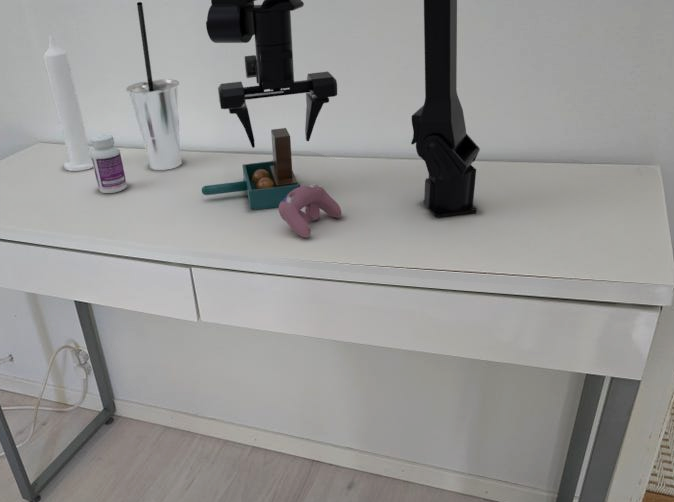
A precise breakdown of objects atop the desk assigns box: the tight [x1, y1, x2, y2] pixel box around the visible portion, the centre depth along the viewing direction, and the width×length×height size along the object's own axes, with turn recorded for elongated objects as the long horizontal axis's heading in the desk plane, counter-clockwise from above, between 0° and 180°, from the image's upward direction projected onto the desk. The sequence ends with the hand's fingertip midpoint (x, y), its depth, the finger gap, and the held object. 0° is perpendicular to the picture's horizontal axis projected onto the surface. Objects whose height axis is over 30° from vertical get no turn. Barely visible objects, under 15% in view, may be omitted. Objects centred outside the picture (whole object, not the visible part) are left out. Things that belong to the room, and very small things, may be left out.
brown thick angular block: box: [270, 127, 299, 187], centre depth 114 cm, size 4×10×10 cm, turn 5°
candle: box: [42, 34, 94, 172], centre depth 132 cm, size 7×7×25 cm
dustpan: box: [201, 160, 301, 211], centre depth 115 cm, size 16×14×3 cm
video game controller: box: [278, 183, 342, 239], centre depth 102 cm, size 10×5×7 cm, turn 141°
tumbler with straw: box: [125, 1, 183, 171], centre depth 126 cm, size 11×11×30 cm
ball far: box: [252, 169, 270, 186], centre depth 117 cm, size 3×3×3 cm
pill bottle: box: [90, 133, 128, 194], centre depth 123 cm, size 5×5×10 cm
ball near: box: [256, 178, 275, 189], centre depth 113 cm, size 3×3×3 cm
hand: (280, 143), depth 112 cm, fingers open, 9 cm apart
